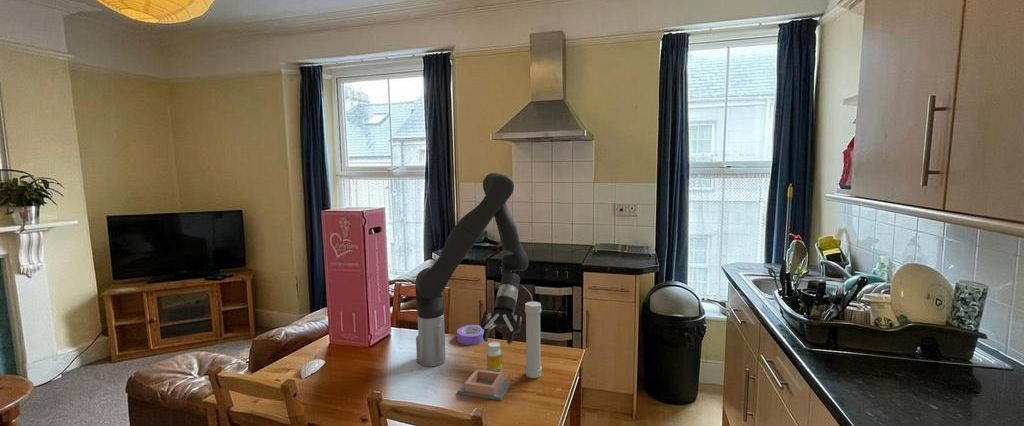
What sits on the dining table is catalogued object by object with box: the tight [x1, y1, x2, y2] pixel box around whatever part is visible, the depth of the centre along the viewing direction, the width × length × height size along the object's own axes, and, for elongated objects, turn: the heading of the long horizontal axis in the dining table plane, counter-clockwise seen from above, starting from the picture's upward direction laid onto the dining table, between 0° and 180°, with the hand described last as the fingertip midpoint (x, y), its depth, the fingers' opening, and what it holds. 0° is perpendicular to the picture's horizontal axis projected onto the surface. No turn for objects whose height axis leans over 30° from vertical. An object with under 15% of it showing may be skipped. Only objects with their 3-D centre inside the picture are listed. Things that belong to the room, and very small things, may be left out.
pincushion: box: [300, 354, 326, 379], centre depth 141 cm, size 12×6×6 cm, turn 176°
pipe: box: [521, 286, 543, 379], centre depth 134 cm, size 6×6×30 cm
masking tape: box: [456, 324, 485, 346], centre depth 165 cm, size 12×12×4 cm
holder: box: [457, 368, 512, 402], centre depth 127 cm, size 14×10×4 cm
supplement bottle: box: [485, 341, 503, 373], centre depth 138 cm, size 5×5×10 cm
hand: (496, 342), depth 140 cm, fingers open, 8 cm apart
